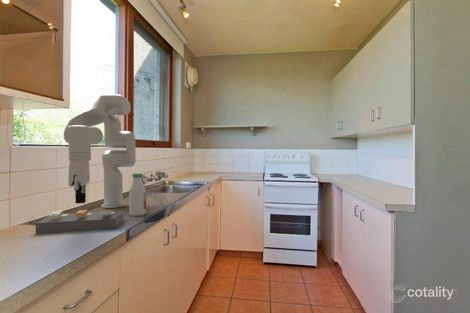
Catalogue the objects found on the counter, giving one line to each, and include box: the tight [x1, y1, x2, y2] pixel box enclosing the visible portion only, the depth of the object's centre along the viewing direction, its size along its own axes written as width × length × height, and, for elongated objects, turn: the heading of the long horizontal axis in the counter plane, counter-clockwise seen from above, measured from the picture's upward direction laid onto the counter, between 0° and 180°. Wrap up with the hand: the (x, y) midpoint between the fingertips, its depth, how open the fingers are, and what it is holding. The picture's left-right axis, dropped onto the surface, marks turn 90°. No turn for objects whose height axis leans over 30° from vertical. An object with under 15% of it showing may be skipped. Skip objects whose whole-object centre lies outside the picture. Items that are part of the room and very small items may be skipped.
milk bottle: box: [128, 173, 147, 217], centre depth 128 cm, size 8×8×20 cm
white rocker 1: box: [48, 209, 64, 219], centre depth 103 cm, size 5×3×2 cm, turn 13°
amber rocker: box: [75, 209, 89, 217], centre depth 105 cm, size 5×3×2 cm, turn 13°
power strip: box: [35, 210, 124, 234], centre depth 107 cm, size 14×28×4 cm, turn 103°
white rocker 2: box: [99, 209, 112, 214], centre depth 108 cm, size 5×3×2 cm, turn 13°
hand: (80, 202), depth 104 cm, fingers closed
